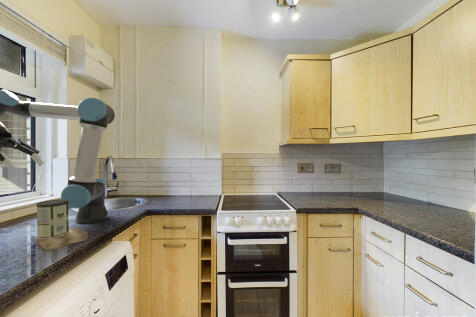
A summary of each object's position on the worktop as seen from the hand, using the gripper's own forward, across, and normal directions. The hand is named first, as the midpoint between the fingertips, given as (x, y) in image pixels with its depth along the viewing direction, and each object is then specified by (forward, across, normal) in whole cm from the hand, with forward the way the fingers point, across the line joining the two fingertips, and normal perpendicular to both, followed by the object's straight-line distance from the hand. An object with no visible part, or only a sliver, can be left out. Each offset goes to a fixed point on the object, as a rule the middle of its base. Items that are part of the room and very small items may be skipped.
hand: (27, 165), depth 97 cm
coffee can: (+33, +6, -8) cm, 35 cm away
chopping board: (+38, +6, -7) cm, 39 cm away
